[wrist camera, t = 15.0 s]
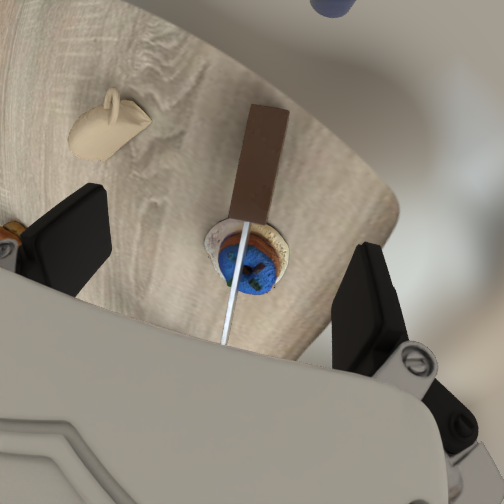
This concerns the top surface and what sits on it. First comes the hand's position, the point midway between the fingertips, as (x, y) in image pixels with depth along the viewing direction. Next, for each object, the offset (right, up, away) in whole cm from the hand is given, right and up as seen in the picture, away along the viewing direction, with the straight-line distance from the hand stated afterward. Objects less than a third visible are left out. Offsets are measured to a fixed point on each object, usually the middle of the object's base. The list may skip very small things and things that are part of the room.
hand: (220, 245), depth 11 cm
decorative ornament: (-10, +11, +13) cm, 20 cm away
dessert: (+1, 0, +18) cm, 18 cm away
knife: (+1, +1, +13) cm, 13 cm away
